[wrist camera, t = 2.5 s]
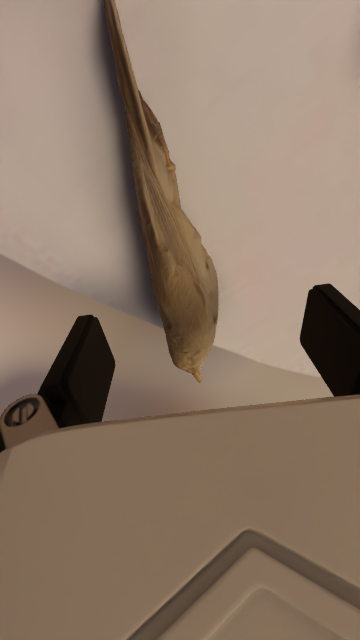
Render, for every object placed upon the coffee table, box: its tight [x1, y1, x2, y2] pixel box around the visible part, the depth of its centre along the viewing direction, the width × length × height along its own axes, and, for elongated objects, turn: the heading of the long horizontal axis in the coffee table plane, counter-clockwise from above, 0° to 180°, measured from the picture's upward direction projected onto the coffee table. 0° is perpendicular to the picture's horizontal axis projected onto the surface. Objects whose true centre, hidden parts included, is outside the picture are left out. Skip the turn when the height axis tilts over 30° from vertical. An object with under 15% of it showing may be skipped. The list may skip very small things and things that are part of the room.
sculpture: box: [103, 0, 218, 382], centre depth 17 cm, size 6×25×5 cm
